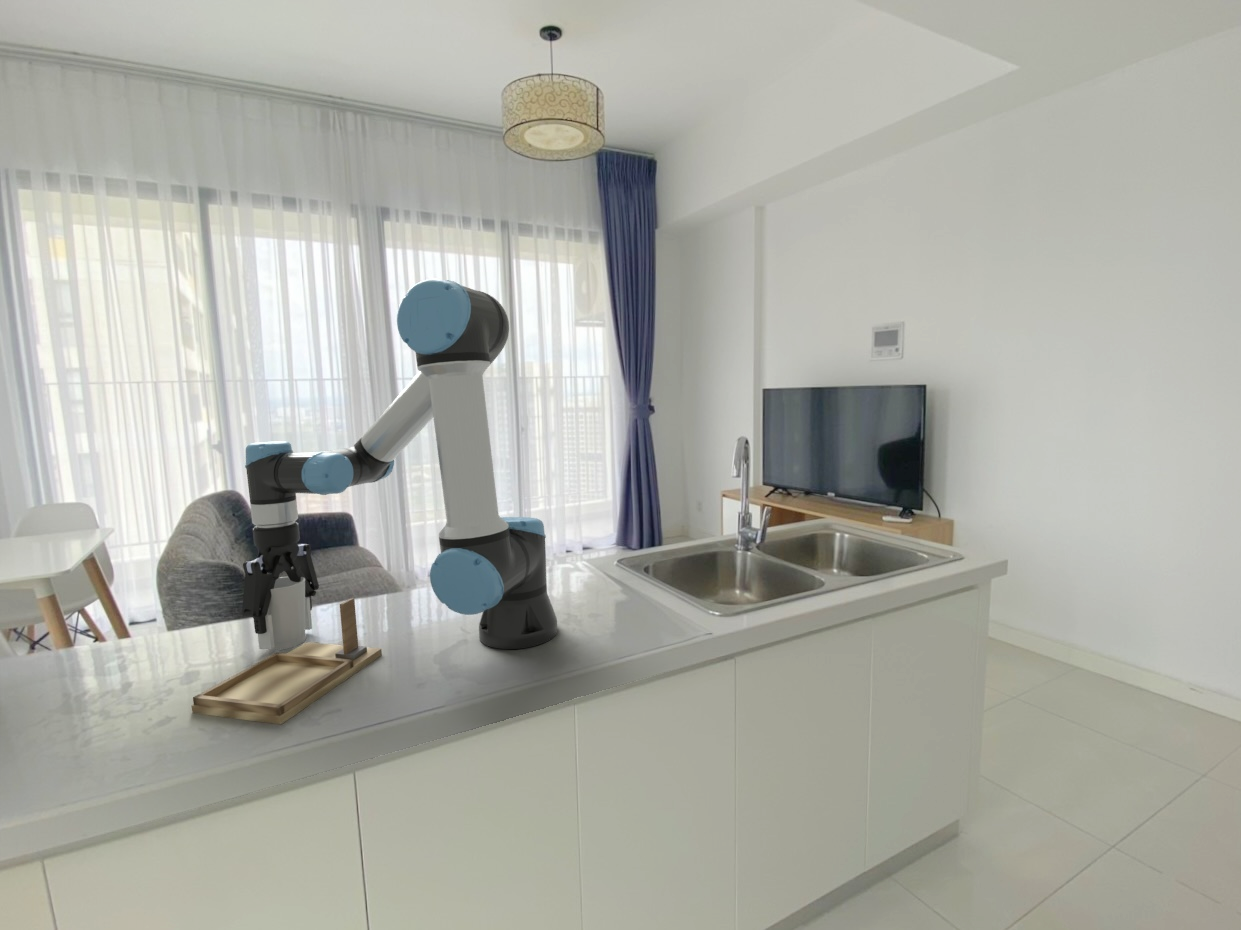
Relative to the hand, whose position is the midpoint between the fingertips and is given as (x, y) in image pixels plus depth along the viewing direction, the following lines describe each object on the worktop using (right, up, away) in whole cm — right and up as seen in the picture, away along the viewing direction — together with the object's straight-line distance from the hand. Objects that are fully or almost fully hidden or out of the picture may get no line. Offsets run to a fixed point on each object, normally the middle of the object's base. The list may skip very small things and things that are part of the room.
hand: (286, 638), depth 112 cm
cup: (0, -1, 0) cm, 1 cm away
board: (+11, -3, -16) cm, 19 cm away
